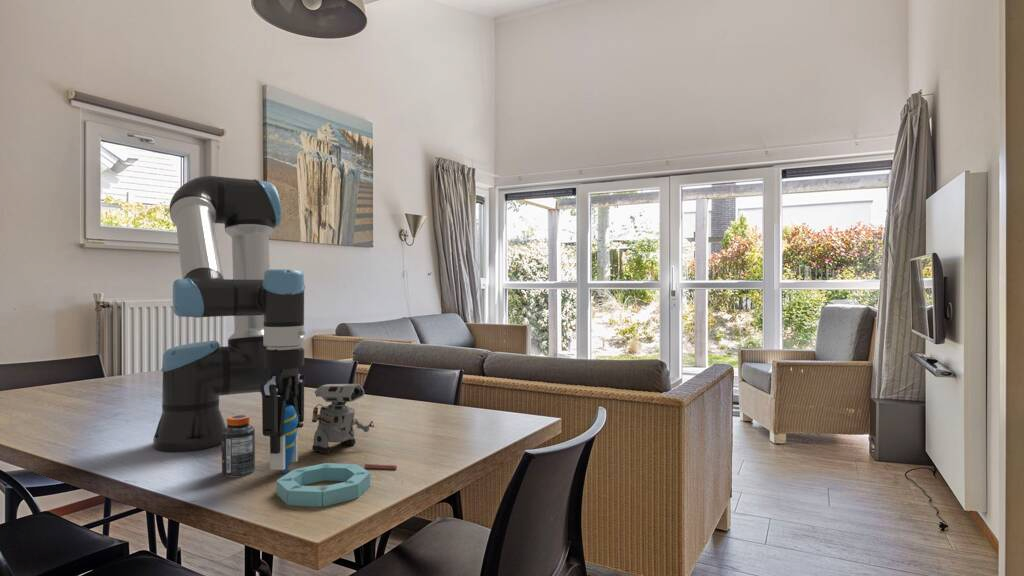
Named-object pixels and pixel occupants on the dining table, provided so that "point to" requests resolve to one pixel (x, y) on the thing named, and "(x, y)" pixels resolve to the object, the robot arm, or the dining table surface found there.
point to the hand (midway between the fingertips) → (284, 464)
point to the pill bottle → (238, 447)
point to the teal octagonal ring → (318, 496)
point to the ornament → (289, 433)
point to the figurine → (336, 416)
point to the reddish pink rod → (380, 466)
